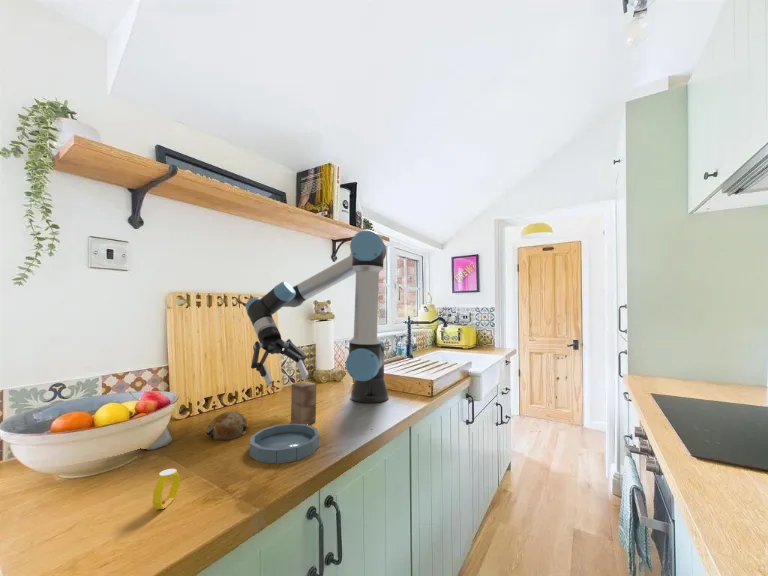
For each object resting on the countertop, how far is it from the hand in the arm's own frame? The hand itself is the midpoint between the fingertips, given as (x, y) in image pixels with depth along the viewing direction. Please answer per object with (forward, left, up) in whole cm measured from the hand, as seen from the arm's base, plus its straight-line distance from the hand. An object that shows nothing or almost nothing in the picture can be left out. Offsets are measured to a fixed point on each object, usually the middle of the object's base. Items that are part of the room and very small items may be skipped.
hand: (289, 380), depth 107 cm
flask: (+35, -8, -12) cm, 38 cm away
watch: (+41, +24, -12) cm, 50 cm away
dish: (+13, +19, -12) cm, 27 cm away
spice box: (-1, +7, -12) cm, 14 cm away
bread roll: (+20, -1, -12) cm, 23 cm away
